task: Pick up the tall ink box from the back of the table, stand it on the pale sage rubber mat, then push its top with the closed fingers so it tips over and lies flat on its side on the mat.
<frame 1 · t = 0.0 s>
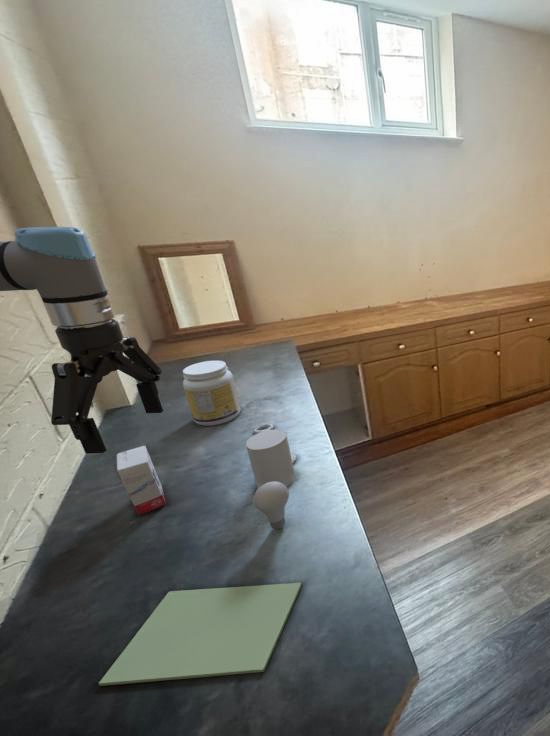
hand: (128, 430, 74), 23 cm above the worktop, tool pointing down, fingers open, 13 cm apart
wrench: (274, 446, 109), on the worktop
ink box: (150, 501, 89), on the worktop
supplement tub: (219, 417, 123), on the worktop
mat: (213, 629, 63), on the worktop
cup: (276, 481, 96), on the worktop
lightbulb: (279, 528, 83), on the worktop
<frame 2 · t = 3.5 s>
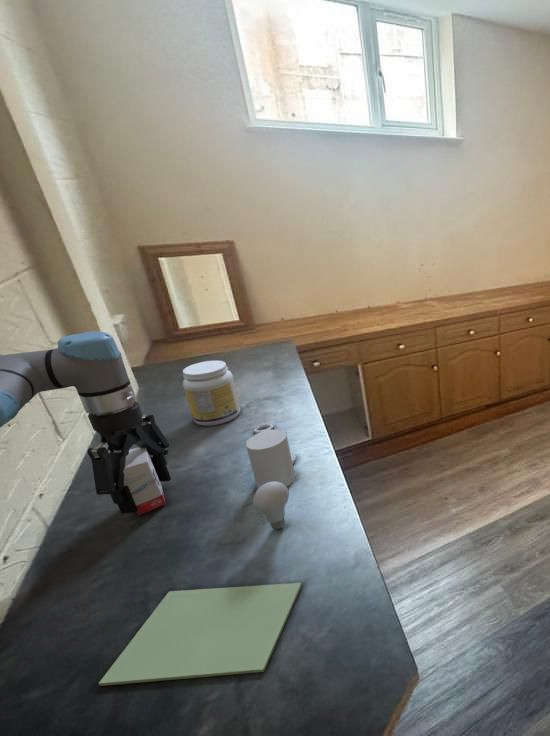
hand: (147, 495, 88), 2 cm above the worktop, tool pointing down, fingers closed on ink box, 9 cm apart
ink box: (150, 501, 89), on the worktop, touching gripper
everything else where it was.
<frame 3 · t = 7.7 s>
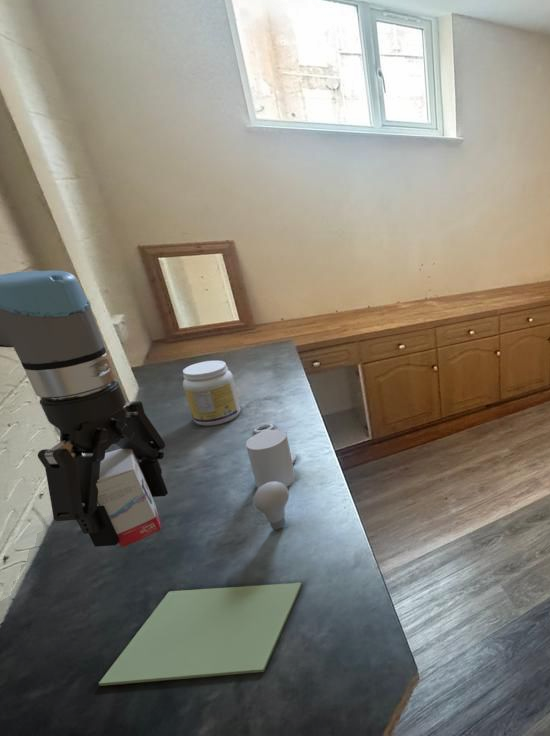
hand: (134, 517, 61), 18 cm above the worktop, tool pointing down, fingers closed on ink box, 9 cm apart
ink box: (138, 526, 62), point 16 cm above the worktop, touching gripper
everything else where it was.
when the fingers open (2 cm above the worktop, at t = 12.2 s): ink box stays where it is, resting on mat.
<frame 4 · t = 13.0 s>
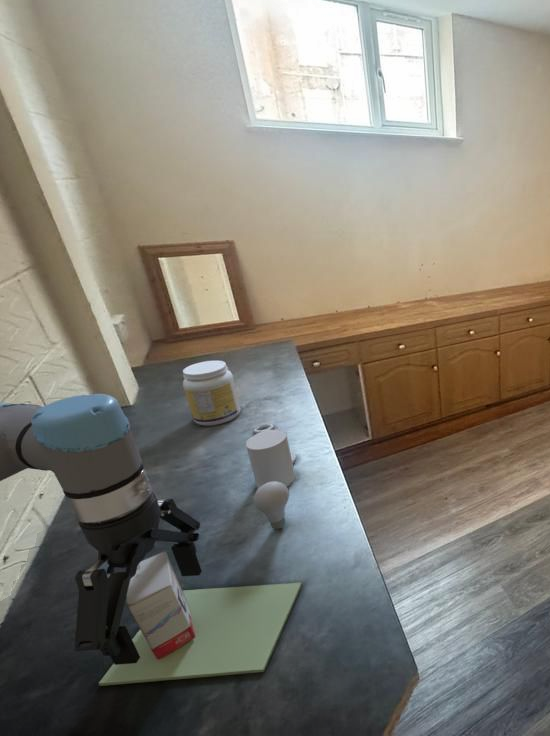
hand: (163, 613, 61), 4 cm above the worktop, tool pointing down, fingers open, 13 cm apart
ink box: (172, 630, 62), resting on mat
everything else where it was.
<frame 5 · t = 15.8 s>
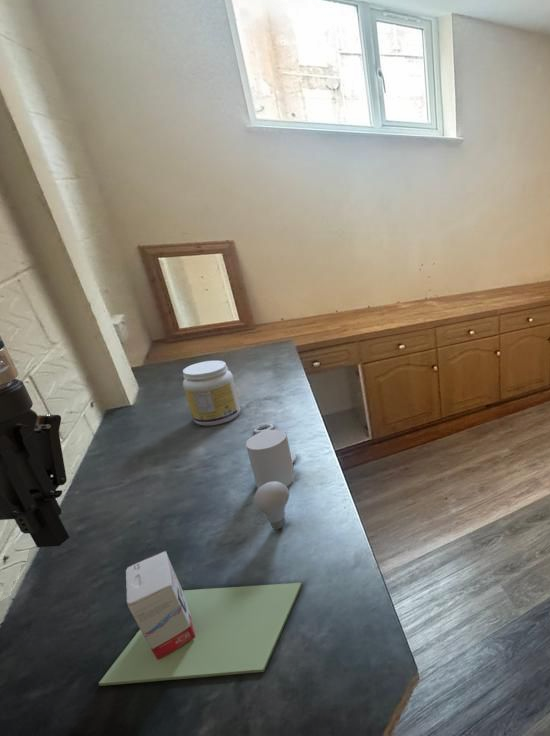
hand: (53, 542, 54), 20 cm above the worktop, tool pointing down, fingers closed
nothing on the worktop moved.
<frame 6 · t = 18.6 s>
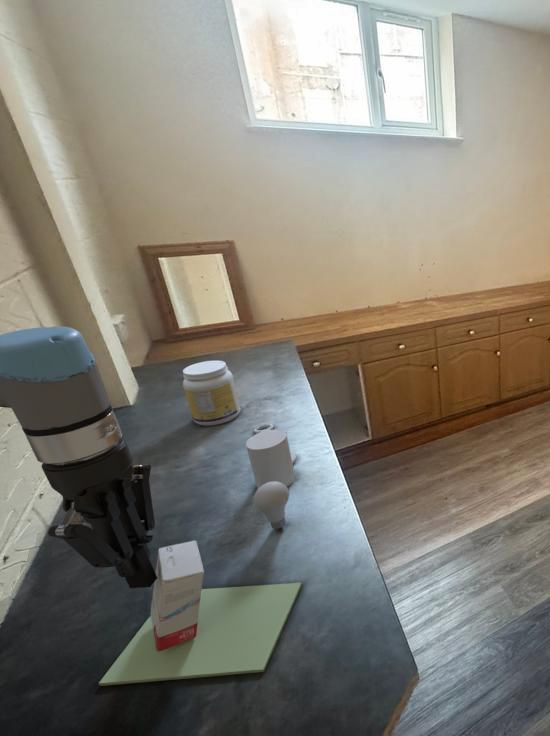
hand: (143, 582, 58), 11 cm above the worktop, tool pointing down, fingers closed
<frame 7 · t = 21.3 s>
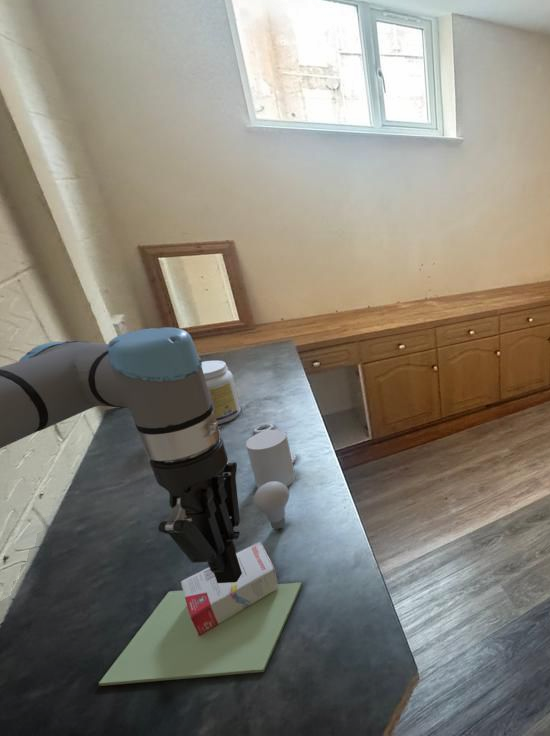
hand: (229, 578, 60), 11 cm above the worktop, tool pointing down, fingers closed
ink box: (186, 608, 63), point 3 cm above the worktop, touching mat
everything else where it was.
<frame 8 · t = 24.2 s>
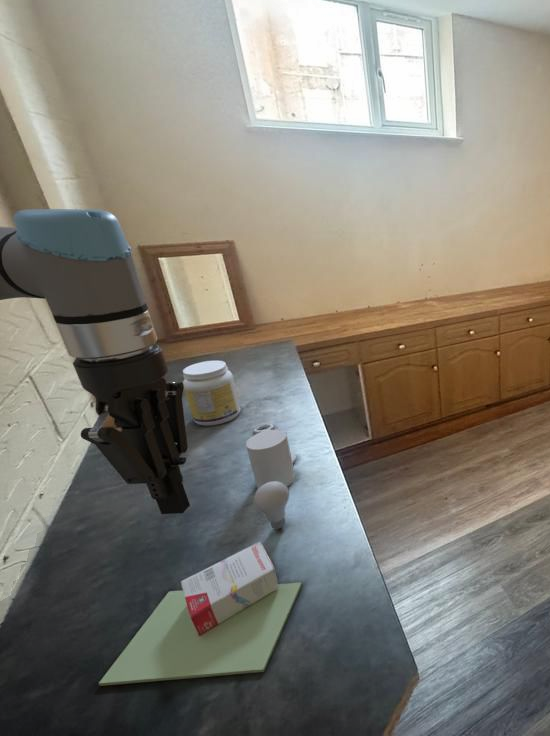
hand: (175, 509, 54), 24 cm above the worktop, tool pointing down, fingers closed
nothing on the worktop moved.
at the end: ink box tilted 91°; ink box inside the target area on the mat (4.8 cm from its centre), point 3.2 cm above the mat's base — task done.
